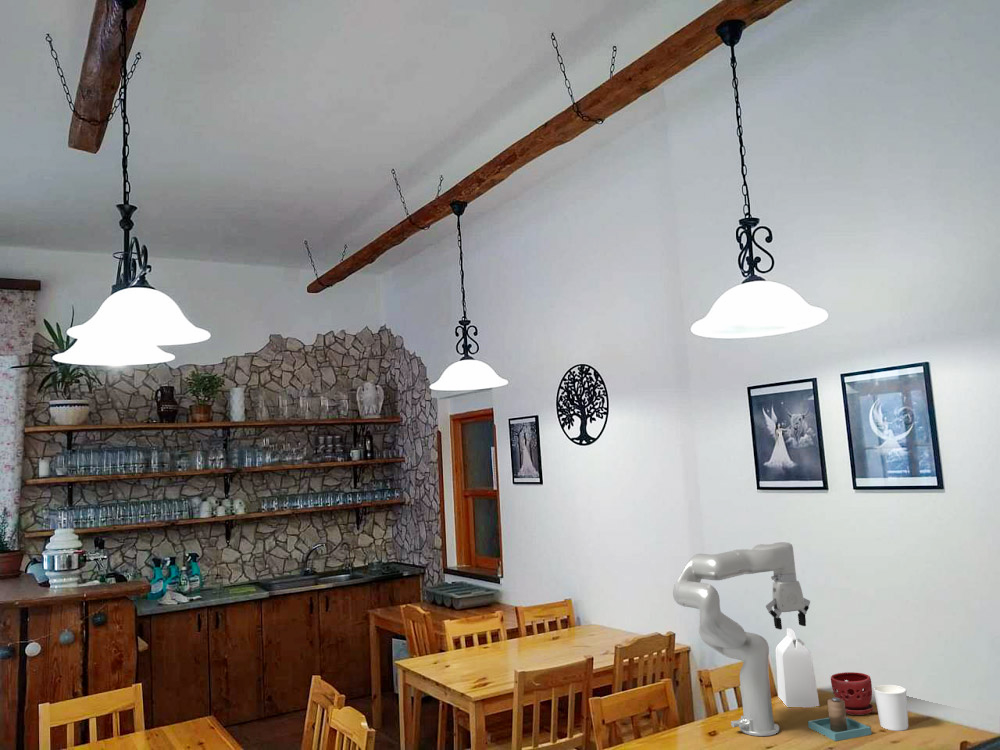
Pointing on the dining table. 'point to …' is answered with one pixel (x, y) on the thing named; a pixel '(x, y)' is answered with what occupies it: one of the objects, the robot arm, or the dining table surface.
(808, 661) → the milk
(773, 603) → the robot arm
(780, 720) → the dining table surface
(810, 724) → the tray
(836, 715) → the pepper mill
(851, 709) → the plant pot
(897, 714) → the candle holder
